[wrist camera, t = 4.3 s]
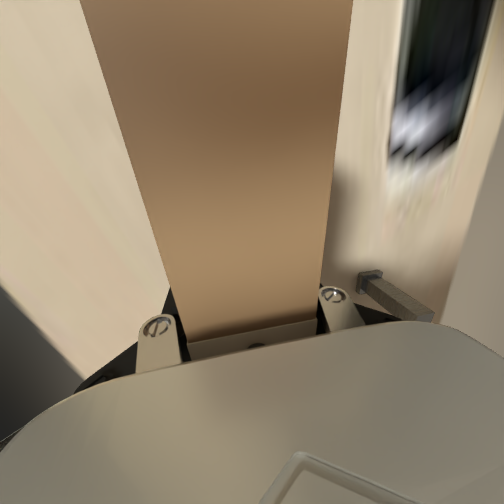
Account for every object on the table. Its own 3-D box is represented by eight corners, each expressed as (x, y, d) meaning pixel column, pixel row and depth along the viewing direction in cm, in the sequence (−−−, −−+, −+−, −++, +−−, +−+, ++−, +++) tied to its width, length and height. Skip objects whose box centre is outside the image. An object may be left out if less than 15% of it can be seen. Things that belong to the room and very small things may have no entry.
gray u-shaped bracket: (274, 287, 20) (300, 337, 14) (378, 269, 22) (440, 307, 16) (275, 306, 21) (299, 359, 15) (374, 287, 23) (431, 329, 17)
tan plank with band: (155, 64, 8) (22, -148, 2) (269, 63, 8) (374, -107, 3) (222, 369, 17) (226, 471, 11) (274, 358, 17) (302, 449, 12)
